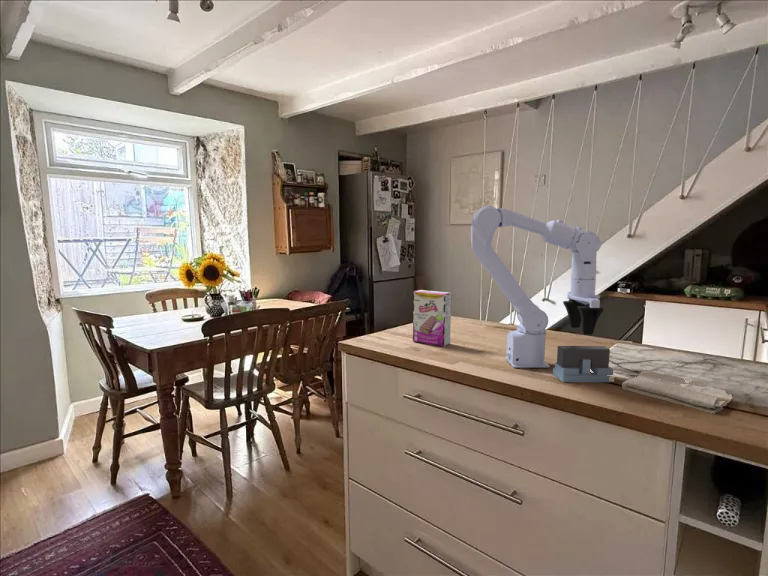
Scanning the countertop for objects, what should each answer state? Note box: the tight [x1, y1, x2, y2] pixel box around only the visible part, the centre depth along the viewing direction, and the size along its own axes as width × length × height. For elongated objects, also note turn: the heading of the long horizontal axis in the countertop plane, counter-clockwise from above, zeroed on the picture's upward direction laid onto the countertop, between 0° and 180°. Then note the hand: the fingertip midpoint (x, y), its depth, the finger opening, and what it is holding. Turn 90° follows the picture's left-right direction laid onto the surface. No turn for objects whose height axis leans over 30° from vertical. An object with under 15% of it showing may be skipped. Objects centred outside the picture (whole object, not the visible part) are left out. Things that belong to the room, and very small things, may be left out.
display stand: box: [552, 360, 614, 383], centre depth 101 cm, size 12×6×5 cm, turn 90°
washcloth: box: [621, 370, 725, 415], centre depth 91 cm, size 12×18×3 cm, turn 39°
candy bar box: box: [412, 289, 452, 347], centre depth 132 cm, size 11×5×16 cm, turn 58°
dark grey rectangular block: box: [556, 345, 611, 368], centre depth 100 cm, size 11×3×4 cm, turn 90°
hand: (581, 330), depth 109 cm, fingers open, 7 cm apart
